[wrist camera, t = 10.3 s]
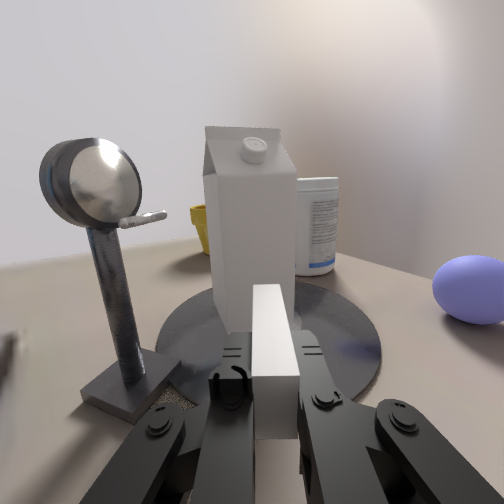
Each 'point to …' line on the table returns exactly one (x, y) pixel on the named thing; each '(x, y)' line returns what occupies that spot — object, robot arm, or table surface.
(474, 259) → the sphere
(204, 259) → the table surface
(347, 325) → the turntable
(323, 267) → the supplement tub
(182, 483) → the robot arm
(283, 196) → the milk carton
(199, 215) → the plant pot
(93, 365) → the table surface
